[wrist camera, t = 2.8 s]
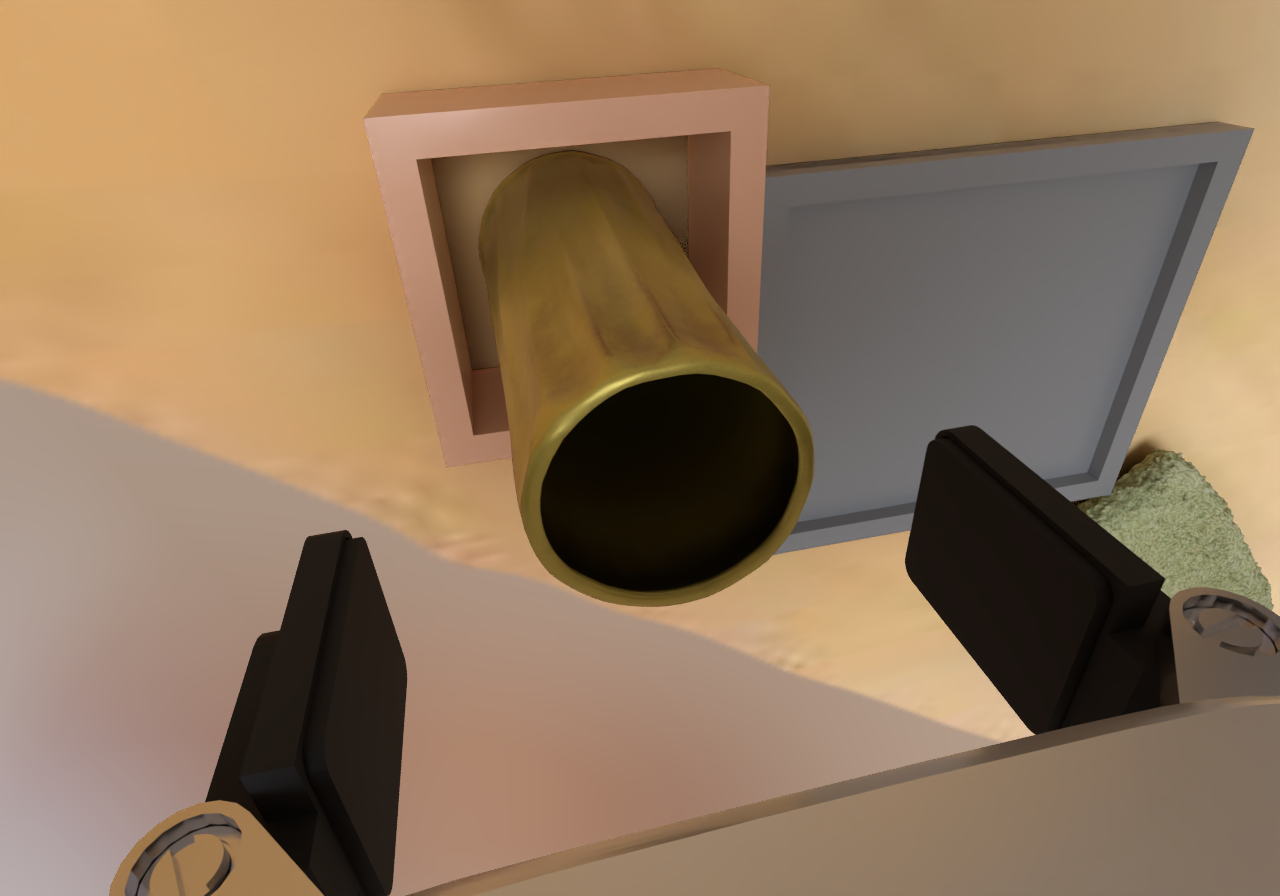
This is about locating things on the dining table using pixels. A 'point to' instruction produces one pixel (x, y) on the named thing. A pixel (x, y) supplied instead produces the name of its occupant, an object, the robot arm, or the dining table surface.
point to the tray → (981, 305)
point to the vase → (631, 394)
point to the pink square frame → (552, 117)
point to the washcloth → (1179, 528)
